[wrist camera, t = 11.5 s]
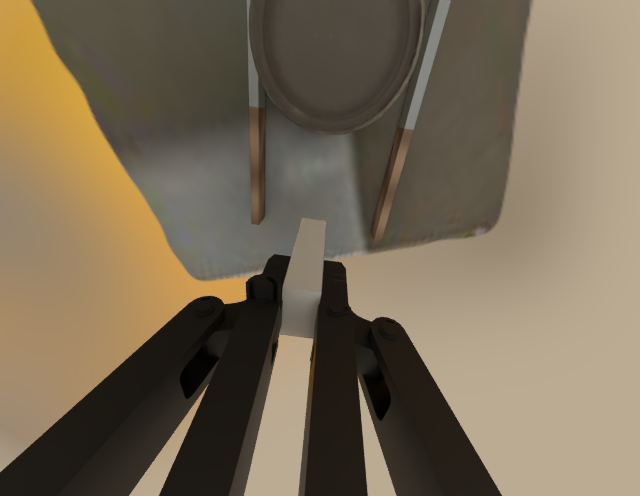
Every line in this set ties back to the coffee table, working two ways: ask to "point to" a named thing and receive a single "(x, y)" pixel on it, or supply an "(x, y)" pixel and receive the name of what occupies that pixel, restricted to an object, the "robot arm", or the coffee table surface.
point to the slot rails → (259, 172)
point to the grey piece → (418, 77)
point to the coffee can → (335, 57)
